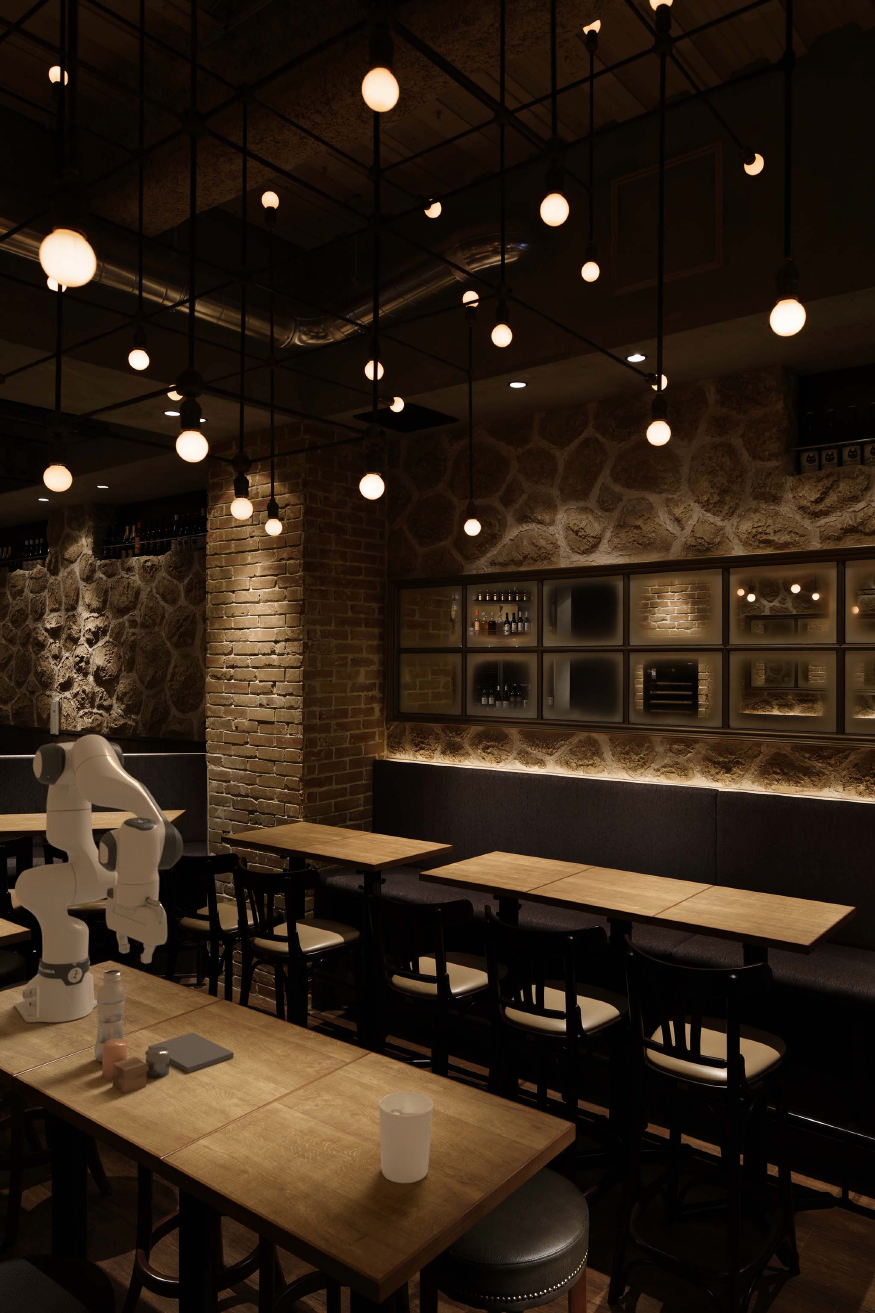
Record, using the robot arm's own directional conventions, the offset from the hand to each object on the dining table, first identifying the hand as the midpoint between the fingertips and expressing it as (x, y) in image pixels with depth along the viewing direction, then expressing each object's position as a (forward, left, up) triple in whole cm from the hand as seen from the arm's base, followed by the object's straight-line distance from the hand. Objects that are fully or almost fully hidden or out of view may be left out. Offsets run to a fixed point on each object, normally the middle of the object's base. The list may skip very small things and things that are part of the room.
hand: (134, 957), depth 194 cm
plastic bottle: (-13, +2, -27) cm, 30 cm away
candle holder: (+68, +16, -27) cm, 75 cm away
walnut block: (+2, -2, -27) cm, 27 cm away
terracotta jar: (-5, -1, -27) cm, 27 cm away
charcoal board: (-3, +17, -27) cm, 32 cm away
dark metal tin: (+1, +6, -27) cm, 27 cm away
